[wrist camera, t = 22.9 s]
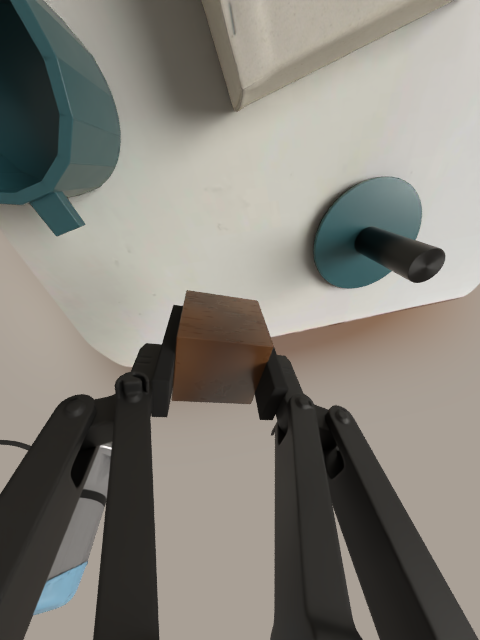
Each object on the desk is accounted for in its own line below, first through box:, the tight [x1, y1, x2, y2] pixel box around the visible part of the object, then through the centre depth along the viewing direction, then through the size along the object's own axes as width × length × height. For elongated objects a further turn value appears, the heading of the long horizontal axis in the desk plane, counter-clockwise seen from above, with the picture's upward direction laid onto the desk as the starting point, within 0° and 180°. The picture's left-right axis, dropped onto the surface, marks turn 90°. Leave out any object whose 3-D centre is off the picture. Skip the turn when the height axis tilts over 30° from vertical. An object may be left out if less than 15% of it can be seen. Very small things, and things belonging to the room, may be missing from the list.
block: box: [172, 290, 274, 404], centre depth 14 cm, size 5×5×5 cm
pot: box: [0, 0, 121, 236], centre depth 17 cm, size 14×19×10 cm
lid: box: [314, 177, 445, 288], centre depth 26 cm, size 15×15×11 cm
